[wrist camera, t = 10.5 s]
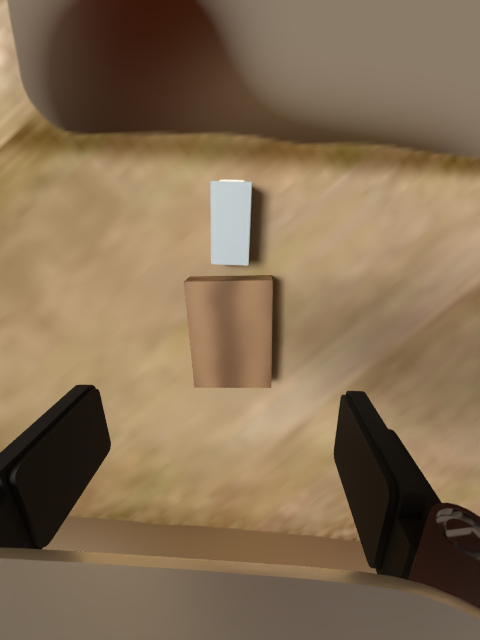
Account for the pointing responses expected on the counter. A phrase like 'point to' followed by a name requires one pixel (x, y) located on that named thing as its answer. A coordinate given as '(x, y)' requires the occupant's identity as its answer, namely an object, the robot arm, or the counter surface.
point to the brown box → (230, 330)
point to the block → (230, 222)
